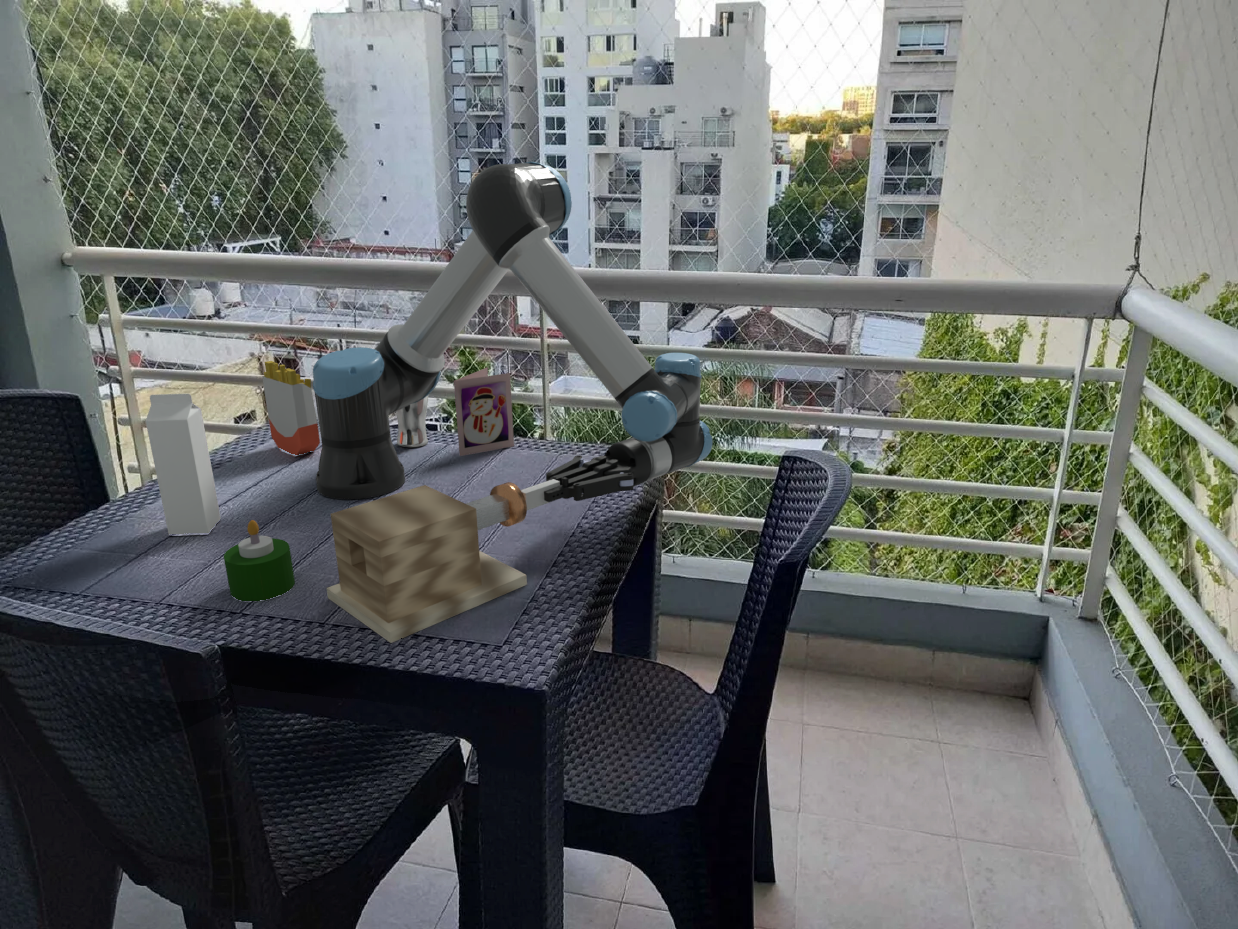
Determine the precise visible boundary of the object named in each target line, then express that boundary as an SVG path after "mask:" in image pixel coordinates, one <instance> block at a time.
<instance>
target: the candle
mask: <svg viewBox="0 0 1238 929" xmlns="http://www.w3.org/2000/svg"><path fill="white" fill-rule="evenodd" d="M259 532H260V527H259V524H258V523H257V521H255V520H254V519H252V520H250V521H249V522H248V524H247V533H248V535H249V537H247V538H244V539H242V540H241V541H240V542H238V544H236V545H234V546H231V547H230V548H228V550H226V551H225V552H224V554H223V562H224V566H225V570H226V576H227V582H228V587H229V594H230V596H231V595H232V596H233V597H235V598H236V599H238V600H237V601H239V600H241V601H240V602H243V601H259V602H261V601H260V600H265V601H267V600H266V599H270V598H273V597H276V596H278V595H281V596H283V595H284V593H285V594H287V593H288V592H290V591H291V590H292V589H293V588H294V587H293V586H295V585H296V580H295V573H294V567H293V561H292V554H291V548H290V547H291V546H290V544H289V543H288V541H286V540H284V539H280V538H275V537H274V538H272V537H270V536H268V535H259ZM290 589H291V590H290ZM289 590H290V591H289ZM287 591H288V592H287ZM286 592H287V593H286ZM282 594H283V595H282ZM232 596H231V597H232ZM233 597H232V598H233ZM276 598H277V597H276ZM236 599H235V600H236ZM273 599H274V598H273ZM270 600H271V599H270Z"/></svg>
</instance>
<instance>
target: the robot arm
mask: <svg viewBox="0 0 1238 929" xmlns="http://www.w3.org/2000/svg"><path fill="white" fill-rule="evenodd" d="M571 194H572V193H571V190H570V187H569V185H568V183H567V181H566V179H565V178H564V177H563V176H562V174H561V173H560V172H559V171H558V170H556V169H555V168H553V167H552V166H550V165H547V164H544V163H540V162H535V161H528V162H522V163H521V162H520V163H510V164H508V163H500V164H494V165H491V166H489V167H487V168H484V169H483V170H482V171H480V172H479V173H478V174H477V175H476V176H475V177H474V178H473V181H471V183H470V185H469V187H468V190H467V194H466V199H465V202H466V203H465V208H466V216H467V219H468V222H469V224H470V226H471V229H472V231H471V232H470V234H469V235H468V236H467V238H466V239H465V240H464V242H462V244H461V245H460V247H459V248H458V249H457V251H456V252H455V254H454V255H453V257H452V258H451V260H450V261H449V262H448V263H447V265H446V266H445V267H444V269H443V270H442V272H441V273H440V275H439V276H438V277H437V279H436V280H435V281H434V282H433V284H432V286H430V288H429V289H428V291H427V292H426V293H425V295H424V296H423V298H422V299H421V300H420V302H419V303H418V305H417V306H416V307H415V309H414V310H413V311H412V313H411V314H410V315H409V317H408V318H407V320H406V321H405V322H404V324H395V325H393V326H391V327H390V328H389V329H388V331H387V332H386V334H384V336H383V338H382V339H381V341H380V342H379V343H378V344H377V345H376V347H374V348H371V347H364V346H363V347H362V346H361V347H358V346H357V347H348V348H344V349H343V350H335V351H332V352H329V353H326V354H325V355H322V356H321V357H320V358H319V359H318V360H316V362H315V363H314V364H313V369H312V377H313V379H312V380H313V382H312V389H313V391H314V397H315V405H316V411H317V412H316V413H317V421H318V428H319V431H320V432H319V435H320V439H321V440H320V442H321V452H320V456H319V460H318V461H319V462H318V469H317V470H318V471H316V475H315V482H316V489H317V492H318V493H319V494H320V495H322V496H324V497H327V498H330V499H337V500H360V499H361V500H363V499H368V498H369V499H370V498H375V497H380V496H383V495H385V494H388V493H391V492H393V491H395V490H397V489H399V488H400V487H402V486H403V485H404V484H405V482H406V473H405V468H404V465H403V463H402V462H401V461H400V459H399V456H398V453H397V450H396V448H395V446H394V444H393V441H392V436H391V427H390V417H389V415H392V414H393V413H396V411H398V410H400V409H402V408H404V407H406V406H408V405H410V404H413V403H416V402H418V401H420V400H421V399H424V398H425V397H426V396H428V397H429V395H430V394H431V393H432V392H433V391H434V390H435V389H436V387H437V386H438V383H439V380H440V376H441V371H442V370H443V368H444V366H445V363H446V362H445V356H444V353H445V352H446V351H447V349H449V347H450V346H451V345H452V343H453V342H454V341H455V339H457V337H458V336H459V334H461V332H462V330H463V329H464V328H465V326H466V325H467V324H468V323H469V321H470V320H471V319H472V318H473V316H474V315H475V313H476V312H477V311H478V310H479V308H480V307H481V306H482V305H483V304H484V302H485V301H486V299H487V298H488V297H490V294H491V293H492V292H493V291H494V289H495V288H496V287H497V286H498V284H499V283H500V282H501V280H502V279H503V278H504V276H505V275H506V274H507V273H508V271H509V270H510V271H511V272H512V273H513V275H514V276H515V277H516V278H517V279H518V282H520V283H521V285H522V286H523V287H524V288H525V290H527V292H528V293H529V294H530V295H531V297H532V298H533V300H534V301H535V302H536V303H537V304H538V305H539V307H540V308H541V310H542V311H543V312H544V313H545V314H546V316H547V317H548V318H549V319H550V321H551V322H552V323H553V324H554V325H555V327H556V328H557V329H558V330H559V332H560V333H561V335H562V336H564V337H565V339H566V340H567V341H568V343H569V344H570V345H571V346H572V348H573V349H574V351H575V352H577V354H578V355H579V357H580V358H581V359H582V360H583V361H584V363H585V364H586V365H587V366H588V368H589V369H590V370H591V372H592V373H593V374H594V375H595V377H597V379H598V380H599V381H600V383H601V384H602V385H603V386H604V388H606V390H607V392H609V394H610V395H611V396H612V397H613V399H614V400H615V401H616V402H617V404H618V406H620V408H621V409H622V410H621V421H622V425H623V427H624V430H625V431H626V432H627V433H628V434H629V435H630V437H631V438H630V437H629V438H627V439H624V440H621V441H618V442H615V443H613V444H611V445H610V446H609V447H608V448H607V450H606V452H605V454H604V455H599V456H595V457H592V458H591V459H590V460H585V459H584V458H583V455H579V454H578V455H575V456H574V457H573V458H572V459H571V460H569V461H567V462H565V463H564V464H562V465H559V466H558V467H555V468H554V469H552V470H550V471H548V472H546V473H545V481H544V482H541V483H538V484H534V485H533V486H529V487H525V488H523V489H520V490H521V491H522V493H523V495H524V497H525V500H526V505H527V511H530V510H533V509H536V508H538V507H541V506H544V505H546V504H549V503H552V502H555V501H557V500H560V499H564V500H568V499H571V498H573V501H576V502H581V501H584V500H589V499H593V498H596V497H602V496H605V495H609V494H614V493H615V494H616V493H618V492H628V491H633V490H634V487H637V486H639V485H642V484H644V483H646V482H651V481H652V480H654V479H657V478H659V477H662V476H665V475H667V474H671V473H673V472H675V471H676V472H677V471H678V470H682V469H684V468H689V467H691V466H693V465H695V464H697V463H699V462H701V461H702V460H704V459H706V458H707V457H708V455H709V454H710V453H711V451H712V447H713V437H712V435H711V433H710V428H709V427H708V425H707V424H706V423H705V422H704V421H702V420H700V412H701V411H700V406H701V385H702V384H701V381H702V380H701V379H702V377H703V376H702V375H701V374H702V372H701V371H702V370H701V360H700V358H699V357H698V356H697V355H695V354H691V353H688V352H687V353H686V352H667V353H662V354H660V355H658V356H657V357H656V359H655V361H654V362H655V363H654V368H653V366H652V365H651V363H650V362H649V361H648V360H647V359H646V357H645V356H644V355H643V353H642V352H641V351H640V350H639V348H637V346H636V345H635V344H634V342H633V341H632V340H631V339H630V337H629V336H628V335H627V334H626V333H625V331H624V330H623V329H622V327H621V326H620V325H619V324H618V322H617V321H616V320H615V319H614V318H613V316H612V315H611V314H610V312H609V311H608V310H607V309H606V307H605V306H604V305H603V304H602V302H601V300H599V298H598V297H597V296H596V294H595V293H594V292H593V290H591V288H590V287H589V286H588V284H586V281H584V280H583V278H582V277H581V276H580V275H579V273H578V272H577V271H576V269H575V268H574V267H573V266H572V264H571V263H570V262H569V261H568V260H567V258H566V257H565V256H564V255H563V253H562V252H561V251H560V249H559V248H558V247H557V245H556V244H555V243H554V242H553V240H552V238H550V236H551V235H554V234H556V233H557V232H558V231H560V229H562V228H563V227H564V226H565V225H566V223H567V222H568V220H569V218H570V215H571V213H572V207H573V206H572V204H573V203H572V195H571Z"/></svg>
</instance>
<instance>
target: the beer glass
mask: <svg viewBox="0 0 1238 929" xmlns="http://www.w3.org/2000/svg"><path fill="white" fill-rule="evenodd" d="M428 403H429V395H428V396H426V397H425V398H424V399H421V400H420V401H418V402H416V403H413V404H410V405H408V406H406V407H404V408H402V409H400V410H398V411H396V412H395V415H396V420H397V425H398V427H397V430H398V432H397V440H396V444H397V445H398V446H400V447H402V448H420V447H424V446H426V445H427V444H428V443H429V438H428V435H427V430H426V420H427V419H426V418H427V411H428V406H429V405H428Z"/></svg>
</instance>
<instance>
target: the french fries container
mask: <svg viewBox="0 0 1238 929" xmlns="http://www.w3.org/2000/svg"><path fill="white" fill-rule="evenodd" d="M264 367H265V371H264V372H263V375H262V377H261V378H262V385H263V392H264V396H265V403H266V409H267V416H268V423H269V429H270V436H271V437H270V438H272V440H273V442H274V443H275V445H276V447H277V448H278V449H279V448H281V449H283V450H285V451H287V452H289V453H291V454H295V455H299V454H304V453H307V452H310V451H314V450H315V451H316V449H318V447H319V445H320V444H321V440H320V439H321V437H320V432H319V431H320V430H319V422H318V417H317V414H316V413H317V412H316V407H315V401H314V396H313V391H312V387H311V386H312V380H311V378H304V379H303V378H301V374H299V373H297V372H296V369H294V368H293V369H291V368H290V367H288V368H286V364H279V363H277V362H275V361H273V360H268V361H264ZM315 451H314V452H315ZM304 455H305V454H304Z"/></svg>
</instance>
